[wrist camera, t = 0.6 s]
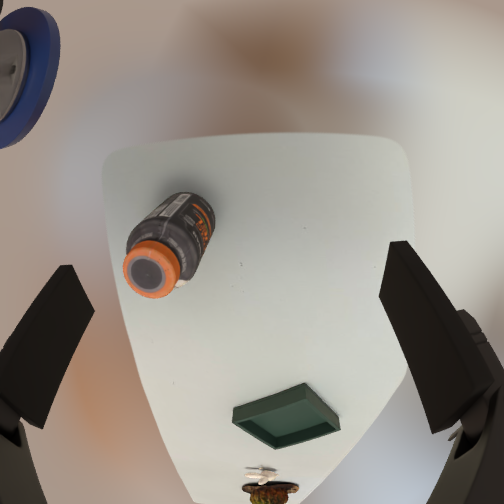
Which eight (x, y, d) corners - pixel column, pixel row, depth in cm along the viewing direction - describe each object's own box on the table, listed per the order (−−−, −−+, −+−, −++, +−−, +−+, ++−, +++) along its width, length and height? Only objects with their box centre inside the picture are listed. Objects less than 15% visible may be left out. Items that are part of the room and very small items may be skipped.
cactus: (254, 495, 69) (252, 519, 60) (232, 483, 63) (229, 510, 54) (304, 490, 66) (305, 515, 57) (289, 478, 59) (290, 507, 51)
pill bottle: (221, 242, 30) (198, 309, 20) (168, 249, 30) (126, 313, 20) (209, 186, 27) (175, 229, 17) (153, 196, 28) (98, 242, 18)
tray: (233, 407, 43) (231, 422, 40) (304, 382, 39) (306, 398, 36) (275, 437, 47) (275, 449, 45) (338, 416, 44) (340, 429, 41)
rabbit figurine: (266, 474, 58) (242, 480, 53) (267, 461, 59) (243, 467, 54) (283, 480, 54) (259, 488, 49) (284, 468, 55) (260, 475, 50)
